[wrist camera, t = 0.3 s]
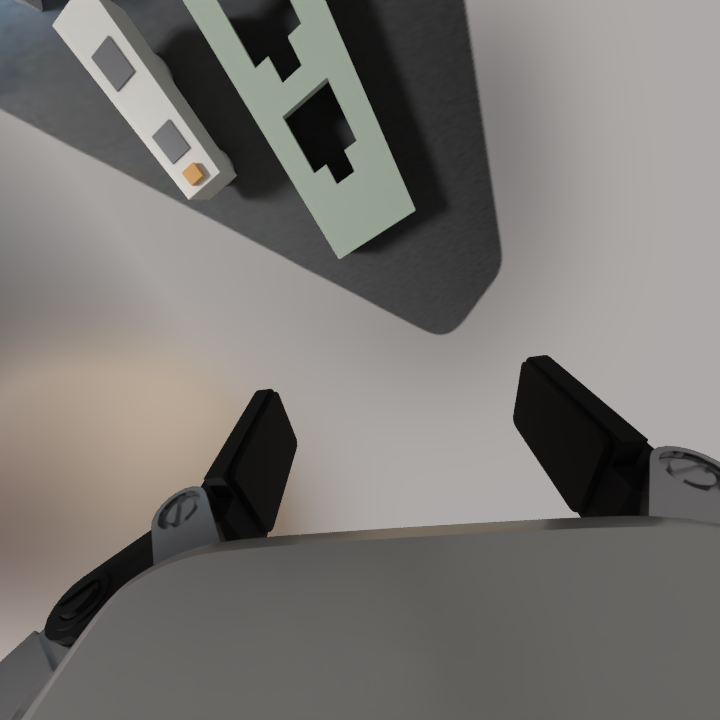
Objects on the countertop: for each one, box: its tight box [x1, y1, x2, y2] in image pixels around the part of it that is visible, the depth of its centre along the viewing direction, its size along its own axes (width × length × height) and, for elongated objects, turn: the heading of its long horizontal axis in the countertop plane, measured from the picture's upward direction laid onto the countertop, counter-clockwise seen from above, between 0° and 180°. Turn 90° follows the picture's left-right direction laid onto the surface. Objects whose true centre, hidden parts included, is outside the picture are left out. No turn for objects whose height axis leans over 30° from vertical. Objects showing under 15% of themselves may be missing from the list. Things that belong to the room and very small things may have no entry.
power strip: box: [52, 0, 237, 200], centre depth 27 cm, size 14×4×8 cm, turn 31°
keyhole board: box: [183, 0, 415, 259], centre depth 28 cm, size 24×10×5 cm, turn 31°
